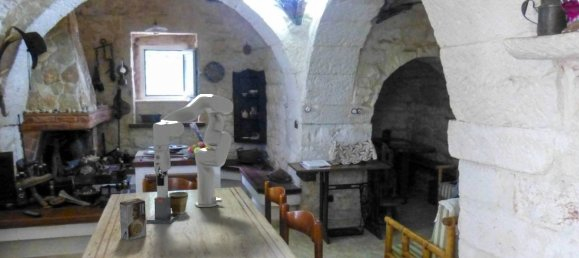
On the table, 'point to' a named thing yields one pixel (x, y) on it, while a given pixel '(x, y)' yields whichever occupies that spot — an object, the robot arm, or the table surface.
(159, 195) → the steel post
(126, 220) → the coffee box
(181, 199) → the ceramic cup
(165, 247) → the table surface
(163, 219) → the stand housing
